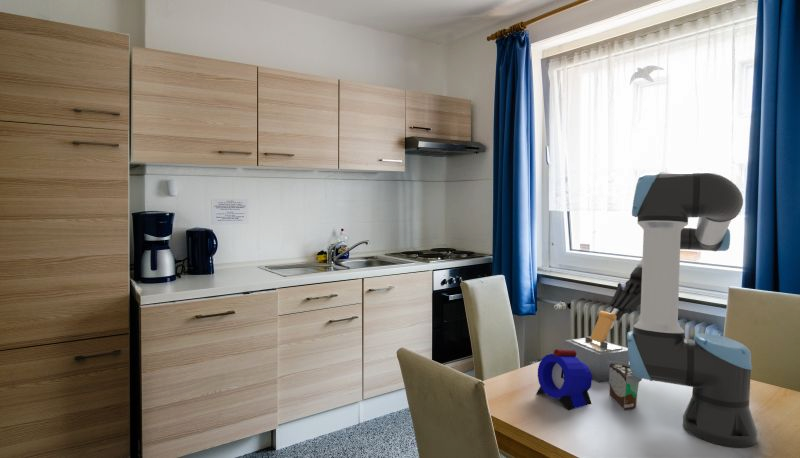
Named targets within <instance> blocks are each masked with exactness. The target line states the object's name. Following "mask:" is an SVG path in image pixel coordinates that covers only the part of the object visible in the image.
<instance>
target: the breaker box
mask: <svg viewBox="0 0 800 458" xmlns="http://www.w3.org/2000/svg"><path fill="white" fill-rule="evenodd" d="M590 337H591V335H590V336H585V337H581V338H580V337H579V338H573V339H565V340H564V350H575V351H576V357H577V358H578V359H579V360H580V361H581V362H583V363H584V364H586V365H587V366H588V368H589V369H590V371H591V374H592V381H594V382H596V383H598V384H601V383H605V382H609V368H608V365H609V361H613V362H621V363H626V364H629V365H630V363H629V356H628V348H625V347H622V346H620V345H616V344H613V343H612V342H608V341H606V340H605V342H601V343H599V342H597V341H594V340H592V339H590Z"/></svg>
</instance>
